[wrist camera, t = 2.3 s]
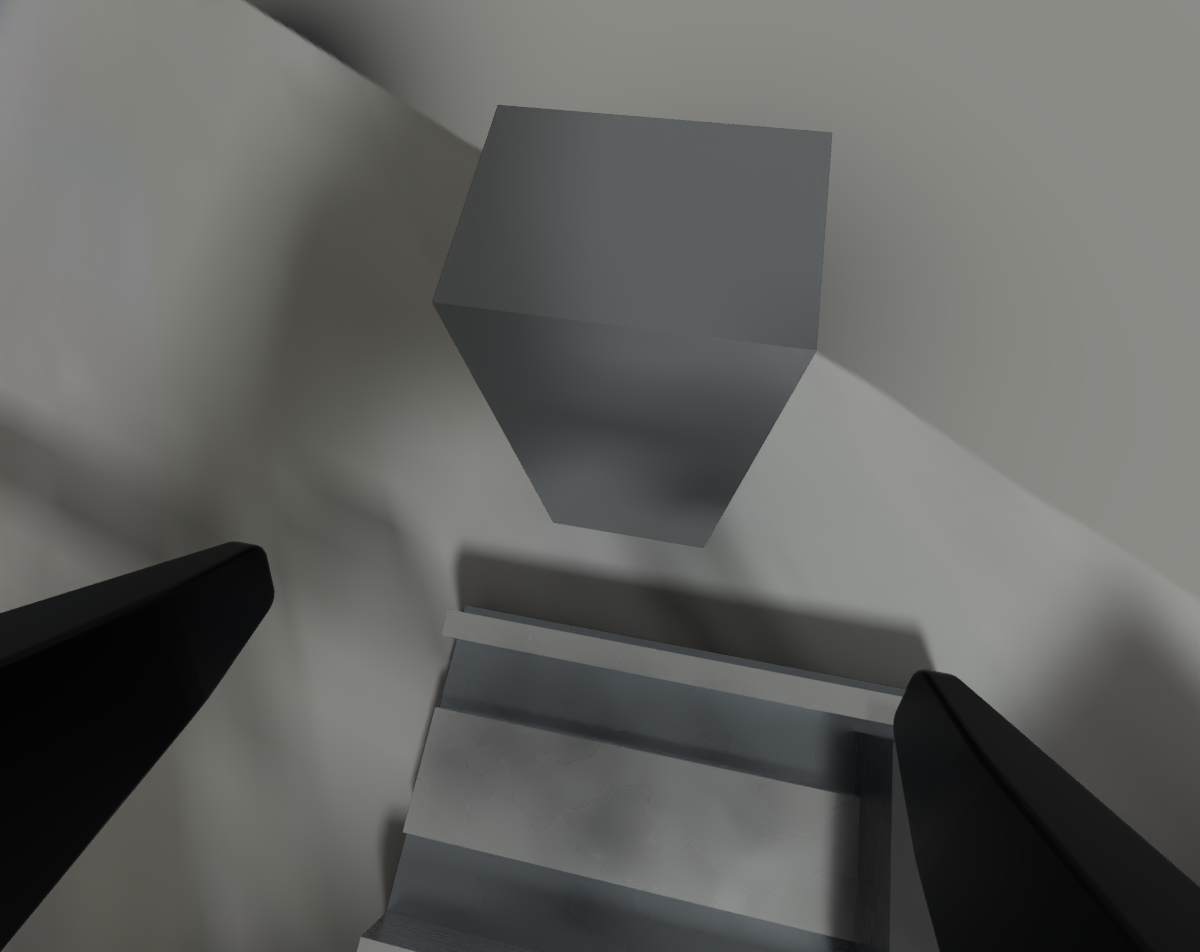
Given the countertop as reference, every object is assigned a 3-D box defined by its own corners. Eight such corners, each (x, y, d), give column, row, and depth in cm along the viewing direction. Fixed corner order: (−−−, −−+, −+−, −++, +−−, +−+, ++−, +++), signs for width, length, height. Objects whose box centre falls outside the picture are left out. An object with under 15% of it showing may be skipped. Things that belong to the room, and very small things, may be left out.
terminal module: (703, 547, 20) (816, 350, 8) (553, 522, 20) (432, 302, 8) (719, 421, 21) (835, 87, 9) (580, 401, 22) (511, 63, 10)
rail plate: (949, 698, 18) (1011, 704, 15) (954, 1101, 15) (1034, 1209, 12) (470, 607, 20) (441, 596, 17) (383, 947, 16) (329, 1007, 13)
